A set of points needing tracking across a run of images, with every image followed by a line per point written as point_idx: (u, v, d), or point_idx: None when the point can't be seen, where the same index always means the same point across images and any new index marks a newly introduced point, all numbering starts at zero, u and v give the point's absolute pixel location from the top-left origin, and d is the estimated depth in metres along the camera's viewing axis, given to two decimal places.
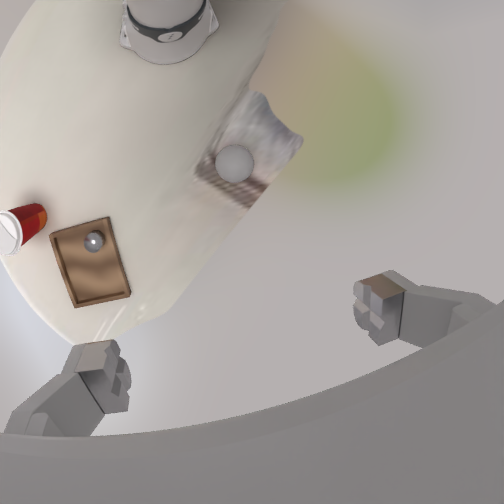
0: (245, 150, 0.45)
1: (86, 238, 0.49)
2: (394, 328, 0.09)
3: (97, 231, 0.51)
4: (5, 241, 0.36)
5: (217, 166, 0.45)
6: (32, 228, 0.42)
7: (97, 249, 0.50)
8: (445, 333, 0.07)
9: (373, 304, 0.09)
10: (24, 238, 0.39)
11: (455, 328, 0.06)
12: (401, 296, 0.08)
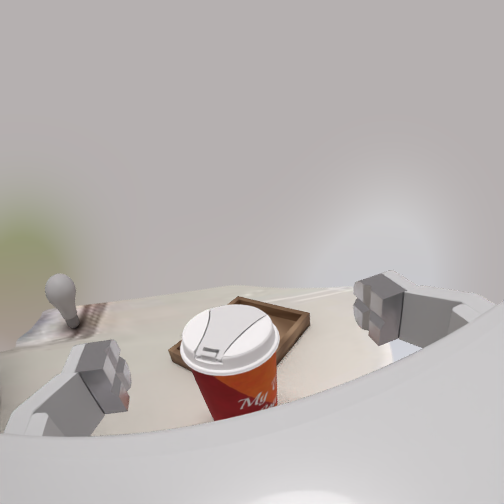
0: None
1: None
2: (394, 328, 0.09)
3: None
4: (230, 317, 0.23)
5: (63, 289, 0.44)
6: None
7: None
8: (445, 333, 0.07)
9: (373, 305, 0.09)
10: None
11: (455, 328, 0.06)
12: (401, 296, 0.08)
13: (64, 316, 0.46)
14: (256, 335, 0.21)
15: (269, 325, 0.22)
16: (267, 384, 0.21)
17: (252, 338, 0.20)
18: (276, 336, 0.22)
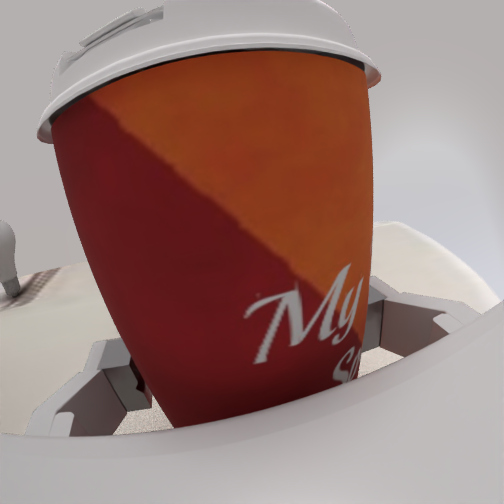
0: None
1: None
2: (374, 336, 0.08)
3: None
4: None
5: None
6: None
7: None
8: (427, 343, 0.07)
9: None
10: None
11: (436, 339, 0.06)
12: (381, 304, 0.08)
13: (0, 278, 0.29)
14: None
15: None
16: (366, 234, 0.05)
17: None
18: None
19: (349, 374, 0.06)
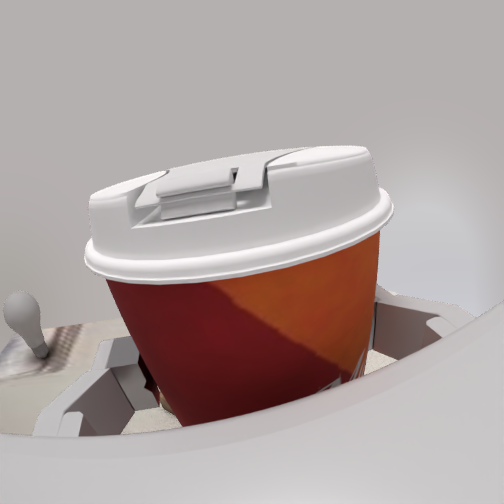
0: None
1: None
2: None
3: None
4: (228, 159, 0.08)
5: (22, 311, 0.31)
6: None
7: None
8: (421, 346, 0.07)
9: None
10: None
11: (429, 342, 0.06)
12: None
13: (29, 344, 0.33)
14: (334, 149, 0.06)
15: None
16: (371, 322, 0.07)
17: (330, 150, 0.06)
18: None
19: None
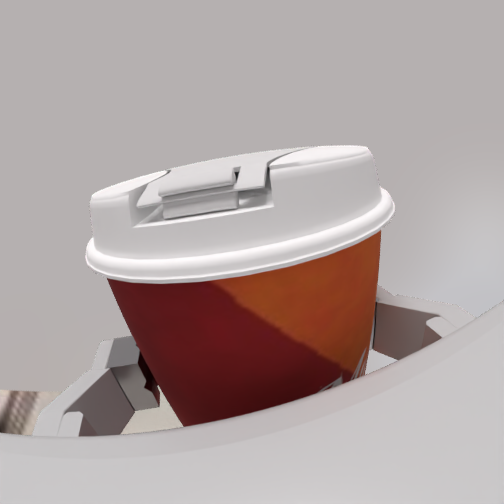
0: None
1: None
2: None
3: None
4: (229, 158, 0.08)
5: None
6: None
7: None
8: (421, 346, 0.07)
9: None
10: None
11: (429, 342, 0.06)
12: None
13: None
14: (335, 149, 0.06)
15: None
16: None
17: (331, 150, 0.06)
18: None
19: None
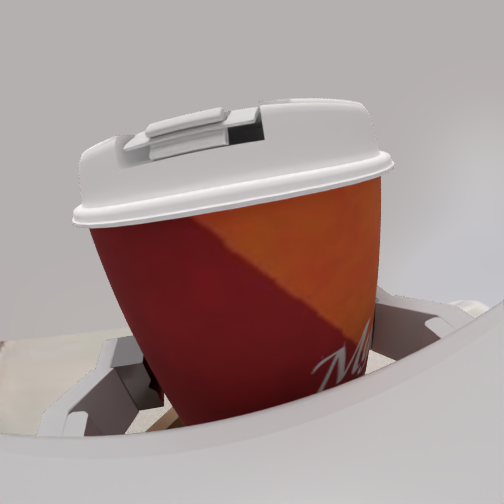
0: None
1: None
2: None
3: None
4: None
5: None
6: None
7: None
8: (419, 346, 0.07)
9: None
10: None
11: (427, 343, 0.06)
12: None
13: None
14: None
15: None
16: (375, 291, 0.07)
17: None
18: None
19: None
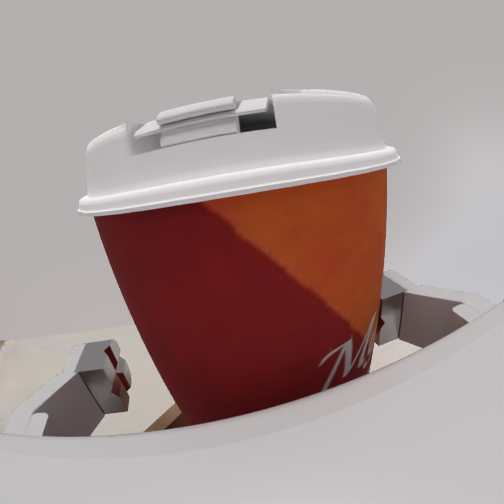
0: None
1: None
2: (394, 328, 0.09)
3: None
4: None
5: None
6: None
7: None
8: (445, 333, 0.07)
9: None
10: None
11: (455, 328, 0.06)
12: (401, 296, 0.08)
13: None
14: None
15: None
16: None
17: None
18: None
19: None
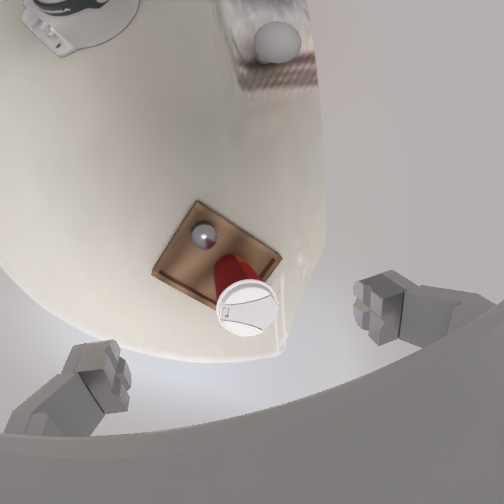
0: (277, 22, 0.29)
1: (194, 238, 0.42)
2: (394, 328, 0.09)
3: (198, 223, 0.44)
4: (259, 312, 0.36)
5: (266, 53, 0.31)
6: (256, 273, 0.41)
7: (214, 239, 0.43)
8: (445, 333, 0.07)
9: (373, 305, 0.09)
10: None
11: (455, 328, 0.06)
12: (401, 296, 0.08)
13: None
14: (242, 331, 0.36)
15: (253, 334, 0.36)
16: None
17: (239, 330, 0.36)
18: None
19: None
